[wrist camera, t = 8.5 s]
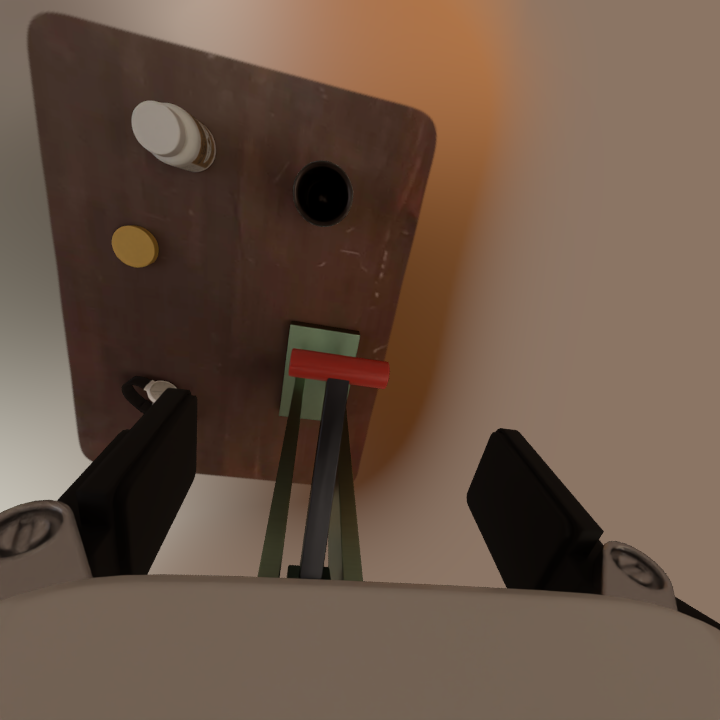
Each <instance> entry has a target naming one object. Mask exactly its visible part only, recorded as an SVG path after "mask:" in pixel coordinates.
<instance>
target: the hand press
mask: <svg viewBox="0 0 720 720" xmlns="http://www.w3.org/2000/svg"><path fill="white" fill-rule="evenodd" d="M359 339H360V333H359V331H353V330H347V329H341V328H334V327H328V326H322V325H315V324H309V323H303V322H297V321H291V324H290V331H289V339H288V347H287V356H286V364H285V372H284V380H283V388H282V396H281V404H280V412H279V416H286V417H288V420H287V426H286V431H285V436H284V441H283V447H282V452H281V457H280V462H279V467H278V473H277V478H276V483H275V488H274V494H273V499H272V504H271V510H270V515H269V520H268V525H267V530H266V536H265V541H264V546H263V551H262V556H261V562H260V567H259V572H258V577H270V578H280V570H281V562H282V555H283V547H284V539H285V532H286V523H287V516H288V508H289V501H290V493H291V486H292V478H293V470H294V463H295V455H296V447H297V440H298V432H299V424H300V418H303V419H312V420H320V421H321V414H322V407H323V400H324V393H325V386H326V381H320V380H313V379H305V378H298V377H290V376H289V374H288V372H289V364H290V357H291V352H292V349H293V348H297V349H303V350H310V351H317V352H324V353H331V354H337V355H344V356H351V357H356V354H357V349H358V344H359ZM349 388H350V384H349ZM348 393H349V389H348ZM347 398H348V396H347ZM328 567H329V569H330V576H331V580H344V581H363V577H362V566H361V556H360V547H359V536H358V525H357V515H356V505H355V495H354V484H353V474H352V464H351V453H350V443H349V433H348V423H347V412H346V410H345V417H344V424H343V431H342V438H341V446H340V453H339V460H338V467H337V474H336V481H335V488H334V496H333V503H332V510H331V517H330V524H329V531H328Z"/></svg>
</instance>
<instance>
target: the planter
mask: <svg viewBox="0 0 720 720" xmlns="http://www.w3.org/2000/svg"><path fill="white" fill-rule="evenodd" d="M293 199H294V203H295V206H296V208H297V210H298V212H299V213H300V215H301V216H302V217H303V218H304V219H305V220H306V221H308V222H309V223H311V224H313V225H316V226H320V227H328V226H332V225H335V224H337V223H339V222H340V221H342V220H343V219H344V218H345V217H346V215H347V214H348V212H349V210H350V208H351V205H352V201H353V189H352V185H351V182H350V179H349V178H348V176H347V174H346V173H345V172H344V171H343V170H342V169H341V168H340V167H339V166H338V165H336V164H334V163H332V162H329V161H314V162H311V163H309V164H307V165H306V166H305V167H303V168H302V169H301V170H300V172H299V173H298V175H297V176H296V179H295V181H294V185H293Z"/></svg>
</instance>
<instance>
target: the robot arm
mask: <svg viewBox="0 0 720 720" xmlns="http://www.w3.org/2000/svg"><path fill="white" fill-rule="evenodd" d="M196 447H197V397H196V396H193V395H191V392H190V390H184V389H176V388H167V389H166V390H165V391H164V392H163V393H162V394H161V396H160V397H159V398H158V399H157V400H156V401H155V402H154V403H153V405H152V406H151V407H150V408H149V409H148V410H147V411H146V412H145V414H144V415H143V416H142V417H141V418H140V419H139V420H138V421H137V423H136V424H135V425H134V426H133V427H132V428H131V429H130V430H128V429H126V430H123V431H122V432H120V433H119V434H118V435H117V436H116V437H115V439H114V440H113V441H112V442H111V443H110V444H109V445H108V446H107V447H106V448H105V449H104V450H103V452H102V453H101V454H100V455H99V456H98V457H97V458H96V459H95V460H94V461H93V462H92V463H91V465H90V466H89V467H88V468H87V469H86V470H85V471H84V472H83V473H82V474H81V476H79V478H78V479H77V480H76V481H75V482H74V483H73V484H72V485H71V486H70V487H69V488H68V489H67V491H66V492H65V493H64V494H63V495H62V496H61V497H60V498H59V499H58V501H53V500H43V501H42V500H41V501H33V502H29V503H25V504H20V505H17V506H15V507H13V508H10V509H8V510H5V511H3V512H1V513H0V720H720V624H719V623H717V622H715V621H714V620H713V619H711V618H709V617H708V616H706V615H704V614H702V613H701V612H699V611H698V610H696V609H694V608H693V607H691V606H689V605H688V604H686V603H685V602H683V601H681V600H680V599H678V598H676V597H675V595H674V591H673V586H672V584H671V581H670V579H669V578H668V576H667V575H666V573H665V572H664V571H663V570H662V569H661V568H660V567H659V566H658V564H656V563H655V562H654V561H653V560H652V559H651V558H649V557H648V556H647V555H645V554H644V553H642V552H641V551H639V550H637V549H636V548H634V547H632V546H630V545H627V544H625V543H621V542H617V541H609V542H607V543H606V544H604V545H603V544H602V543H601V542H600V541H599V538H600V537H601V535H602V534H603V532H604V531H603V530H602V529H601V528H600V527H599V525H598V524H597V523H596V522H595V521H594V520H593V518H592V517H591V516H590V515H589V514H588V513H587V511H586V510H585V509H584V508H583V507H582V505H581V504H580V503H579V502H578V501H577V500H576V498H575V497H574V496H573V495H572V494H571V492H570V491H569V490H568V489H567V488H566V487H565V486H564V484H563V483H562V482H561V481H560V479H558V477H557V476H556V475H555V474H554V472H553V471H552V470H551V469H550V468H549V466H548V465H547V464H546V463H545V462H544V461H543V459H542V458H541V457H540V456H539V455H538V454H537V452H536V451H535V450H534V449H533V448H532V446H531V445H530V444H529V443H528V442H527V441H526V439H525V438H524V437H523V436H522V435H521V434H520V432H518V431H517V430H510V429H502V428H500V429H498V430H497V431H496V432H493V433H492V434H491V436H490V438H489V441H488V443H487V446H486V448H485V451H484V453H483V455H482V458H481V460H480V463H479V465H478V468H477V470H476V473H475V475H474V478H473V480H472V483H471V485H470V488H469V490H468V493H467V503H468V506H469V508H470V511H471V512H472V515H473V517H474V519H475V521H476V523H477V525H478V528H479V530H480V532H481V534H482V536H483V538H484V540H485V543H486V544H487V547H488V549H489V551H490V553H491V555H492V557H493V560H494V562H495V564H496V566H497V568H498V570H499V572H500V574H501V577H502V579H503V581H504V583H505V585H506V587H507V588H489V587H470V586H451V585H430V584H408V583H387V582H365V581H344V580H319V579H295V578H270V577H244V576H208V575H207V576H206V575H165V574H163V575H161V574H160V575H147V574H148V572H149V570H150V568H151V565H152V564H153V562H154V560H155V557H156V555H157V553H158V551H159V549H160V547H161V545H162V543H163V541H164V539H165V537H166V535H167V533H168V531H169V529H170V527H171V525H172V523H173V521H174V519H175V517H176V515H177V513H178V511H179V509H180V507H181V505H182V503H183V501H184V499H185V497H186V495H187V492H188V490H189V488H190V486H191V484H192V482H193V480H194V477H195V473H196Z"/></svg>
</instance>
